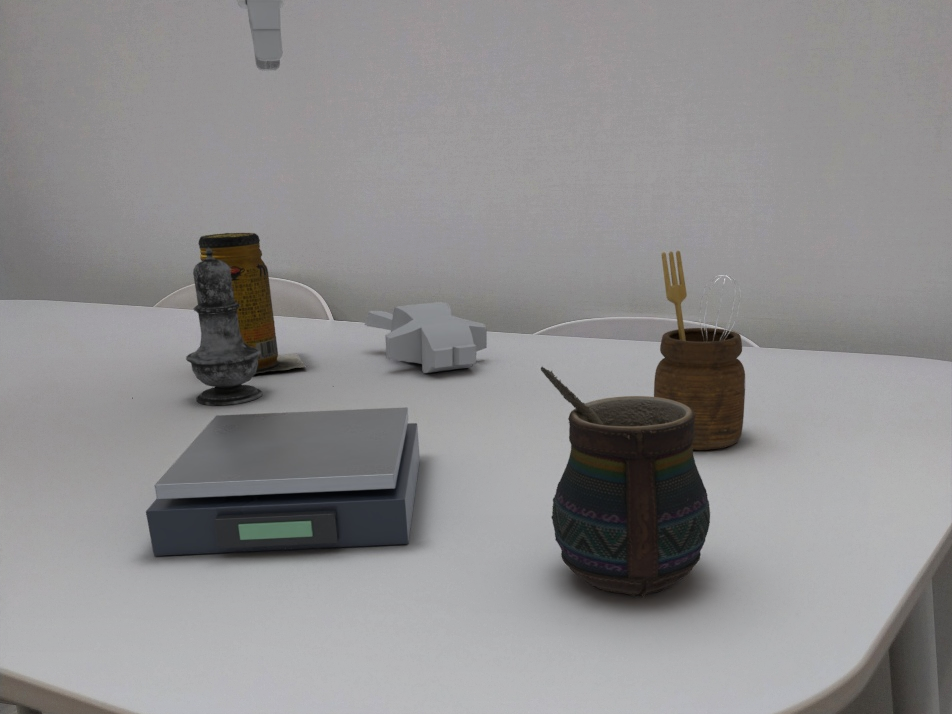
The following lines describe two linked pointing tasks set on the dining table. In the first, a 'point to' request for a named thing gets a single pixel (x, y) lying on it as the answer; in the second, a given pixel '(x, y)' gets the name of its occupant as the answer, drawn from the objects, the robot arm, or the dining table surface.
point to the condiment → (251, 295)
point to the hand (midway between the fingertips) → (269, 65)
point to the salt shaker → (221, 339)
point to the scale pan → (290, 454)
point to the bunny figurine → (430, 336)
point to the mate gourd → (630, 493)
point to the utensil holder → (702, 369)
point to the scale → (289, 517)
